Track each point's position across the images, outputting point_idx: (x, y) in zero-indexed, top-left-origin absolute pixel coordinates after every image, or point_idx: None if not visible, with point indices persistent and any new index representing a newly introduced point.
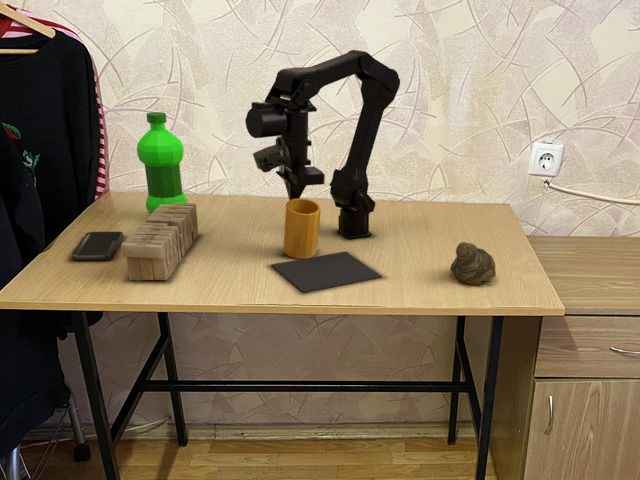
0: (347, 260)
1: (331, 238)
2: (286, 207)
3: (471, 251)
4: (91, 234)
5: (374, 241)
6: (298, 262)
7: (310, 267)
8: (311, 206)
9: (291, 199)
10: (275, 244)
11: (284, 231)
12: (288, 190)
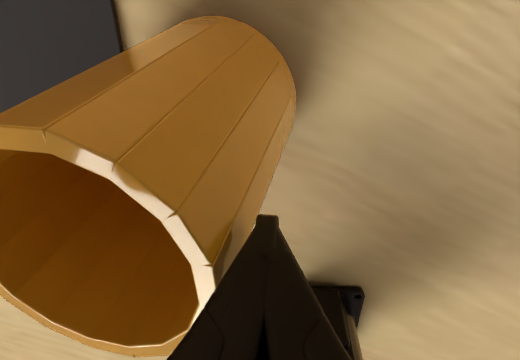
0: None
1: (316, 251)
2: (55, 128)
3: None
4: None
5: None
6: (80, 23)
7: (4, 46)
8: (168, 308)
9: (236, 256)
10: (384, 37)
11: (215, 53)
12: (266, 324)
